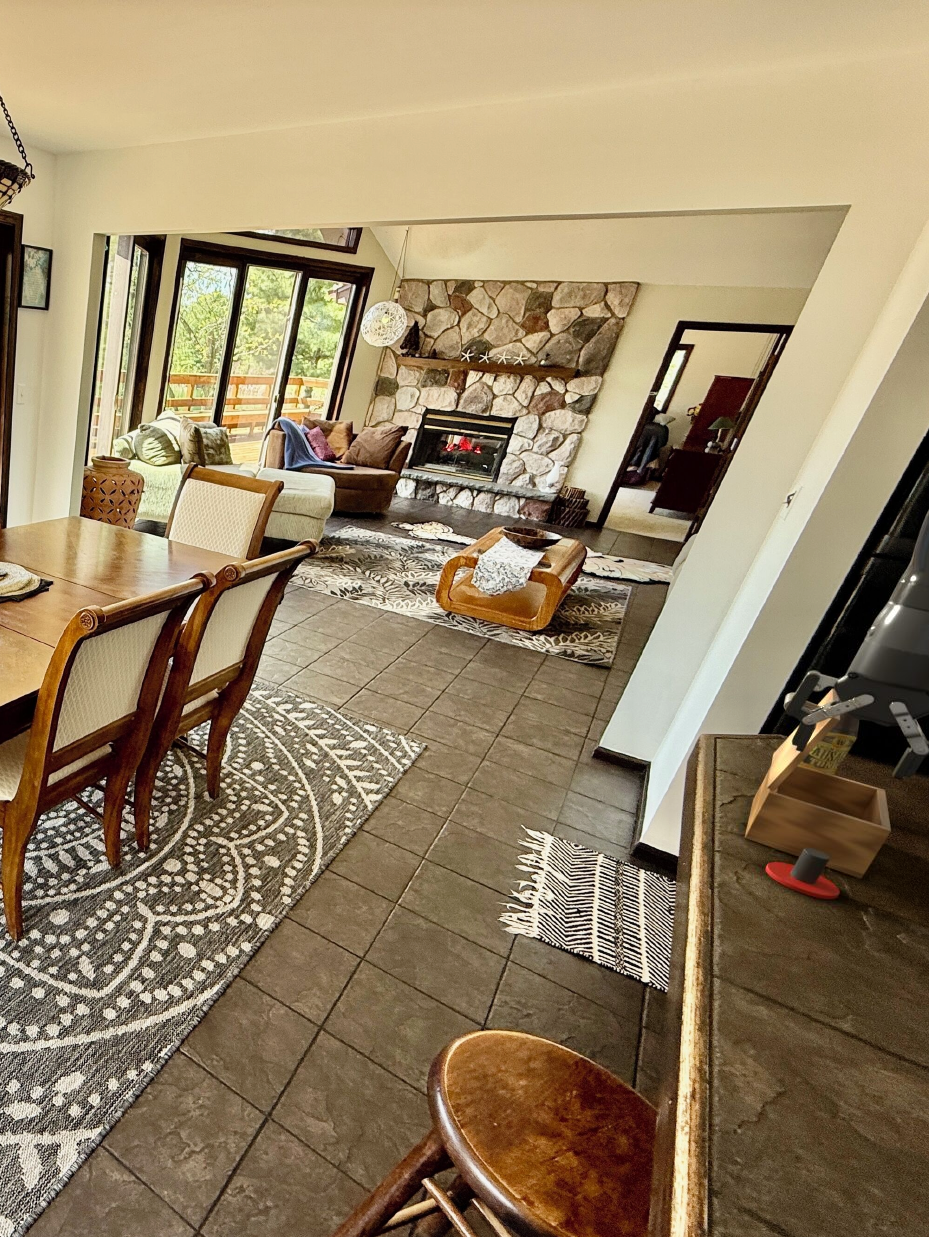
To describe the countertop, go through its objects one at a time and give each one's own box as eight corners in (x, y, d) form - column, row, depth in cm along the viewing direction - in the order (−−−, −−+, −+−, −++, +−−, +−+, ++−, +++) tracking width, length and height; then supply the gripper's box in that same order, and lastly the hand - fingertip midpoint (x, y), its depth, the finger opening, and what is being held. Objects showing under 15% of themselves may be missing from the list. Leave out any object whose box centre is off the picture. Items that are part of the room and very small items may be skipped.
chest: (858, 834, 104) (885, 789, 101) (861, 879, 93) (891, 830, 90) (753, 800, 112) (775, 758, 109) (744, 837, 101) (768, 792, 98)
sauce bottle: (782, 795, 114) (842, 685, 106) (758, 777, 119) (813, 671, 112) (832, 804, 112) (896, 692, 105) (805, 785, 118) (864, 678, 110)
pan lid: (828, 879, 93) (845, 851, 91) (845, 906, 88) (863, 877, 86) (759, 859, 96) (775, 831, 95) (772, 884, 91) (788, 855, 89)
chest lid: (839, 691, 102) (797, 675, 105) (840, 720, 92) (793, 701, 94) (779, 756, 108) (741, 740, 111) (773, 791, 98) (731, 771, 101)
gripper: (1006, 656, 80) (930, 778, 86) (829, 623, 90) (772, 734, 96) (1013, 669, 75) (932, 797, 81) (825, 632, 85) (766, 748, 91)
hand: (846, 762), depth 89 cm, fingers open, 8 cm apart
